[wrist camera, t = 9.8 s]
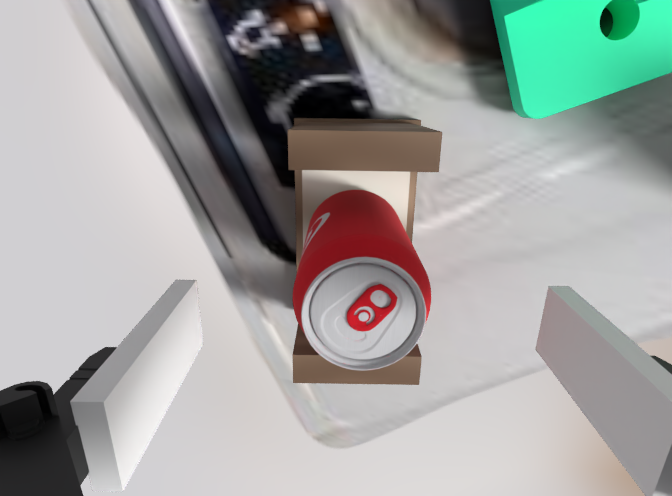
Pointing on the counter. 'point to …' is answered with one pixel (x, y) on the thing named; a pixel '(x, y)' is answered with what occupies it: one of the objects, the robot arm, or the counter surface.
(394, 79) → the counter surface
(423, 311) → the beverage can
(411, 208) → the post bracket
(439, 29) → the counter surface
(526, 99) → the camera mount
